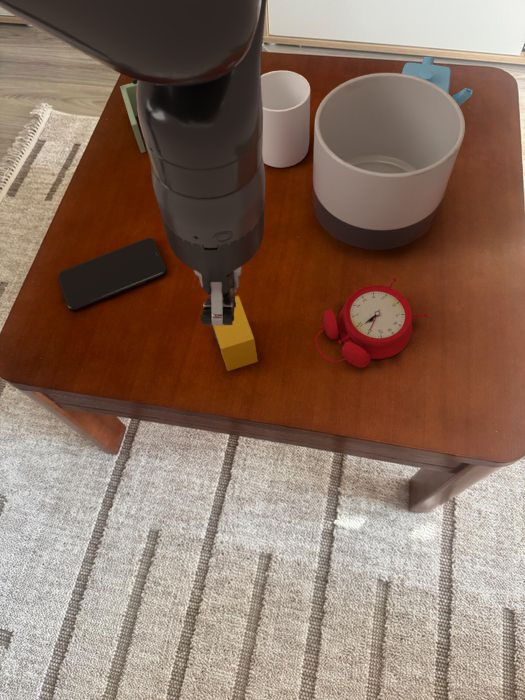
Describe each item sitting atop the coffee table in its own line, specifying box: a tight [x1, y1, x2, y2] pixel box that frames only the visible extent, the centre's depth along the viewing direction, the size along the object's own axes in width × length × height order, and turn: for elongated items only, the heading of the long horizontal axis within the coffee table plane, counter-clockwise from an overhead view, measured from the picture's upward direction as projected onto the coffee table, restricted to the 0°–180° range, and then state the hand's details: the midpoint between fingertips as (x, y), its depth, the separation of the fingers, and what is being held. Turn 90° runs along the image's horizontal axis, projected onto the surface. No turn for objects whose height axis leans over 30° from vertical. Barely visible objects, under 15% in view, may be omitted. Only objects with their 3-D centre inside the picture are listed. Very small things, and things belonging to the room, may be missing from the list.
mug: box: [261, 70, 311, 169], centre depth 87 cm, size 10×12×12 cm
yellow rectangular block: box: [211, 295, 259, 372], centre depth 72 cm, size 7×5×7 cm, turn 18°
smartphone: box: [57, 237, 168, 312], centre depth 81 cm, size 8×1×16 cm
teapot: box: [400, 56, 474, 107], centre depth 88 cm, size 18×14×10 cm
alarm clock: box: [314, 277, 429, 368], centre depth 73 cm, size 10×6×15 cm
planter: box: [311, 72, 466, 251], centre depth 76 cm, size 19×19×18 cm
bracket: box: [119, 78, 147, 154], centre depth 93 cm, size 11×10×7 cm
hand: (224, 301), depth 53 cm, fingers closed
